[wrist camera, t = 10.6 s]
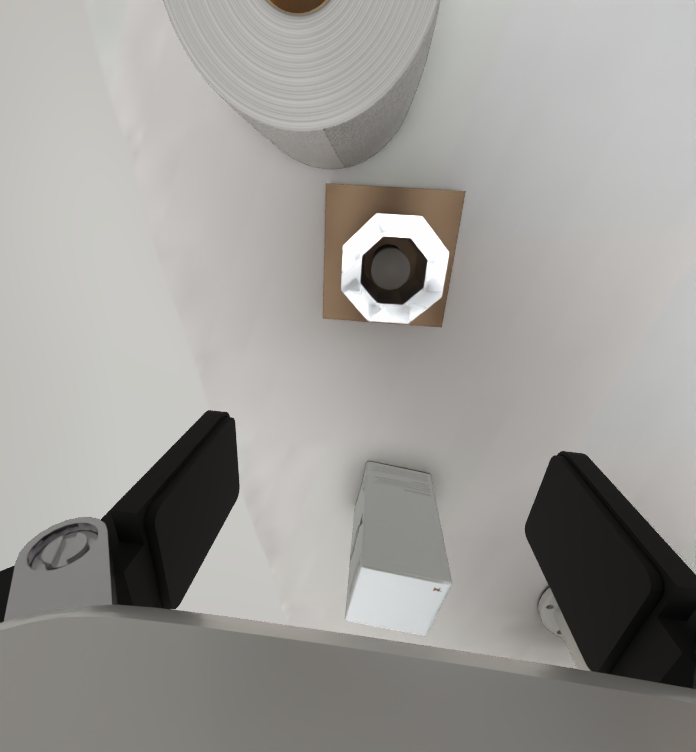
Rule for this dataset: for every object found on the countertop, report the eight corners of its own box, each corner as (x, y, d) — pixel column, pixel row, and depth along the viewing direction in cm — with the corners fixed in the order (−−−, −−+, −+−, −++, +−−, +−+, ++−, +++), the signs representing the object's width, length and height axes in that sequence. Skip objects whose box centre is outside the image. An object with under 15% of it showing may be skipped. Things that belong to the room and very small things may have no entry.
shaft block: (459, 193, 26) (491, 181, 19) (437, 321, 30) (456, 352, 23) (329, 186, 26) (311, 172, 19) (325, 312, 30) (309, 340, 23)
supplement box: (366, 458, 37) (360, 565, 25) (432, 472, 37) (456, 585, 25) (352, 507, 40) (342, 622, 28) (413, 520, 40) (428, 640, 28)
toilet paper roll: (271, 184, 27) (201, 158, 16) (227, -25, 22) (87, -256, 11) (425, 155, 25) (460, 106, 15) (414, -77, 20) (453, -401, 10)
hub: (438, 219, 25) (455, 217, 19) (425, 305, 28) (437, 326, 22) (351, 214, 25) (344, 211, 20) (346, 300, 28) (339, 318, 22)
